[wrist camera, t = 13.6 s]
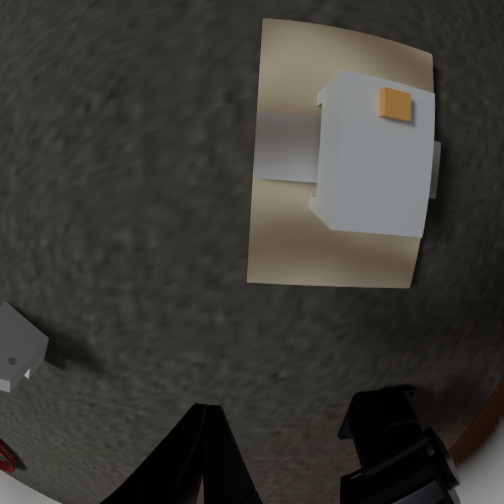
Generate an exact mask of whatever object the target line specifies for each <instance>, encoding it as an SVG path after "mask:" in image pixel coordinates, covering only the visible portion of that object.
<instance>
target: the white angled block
mask: <svg viewBox="0 0 504 504" xmlns="http://www.w3.org/2000/svg"><path fill="white" fill-rule="evenodd" d="M48 341H49V338H48V337H47V336H46V335H45V334H43V333H42V332H41V331H40V330H38V329H37V328H36V327H35V326H34V325H32V324H31V323H30V322H29V321H28V320H27V319H25V318H24V317H23V316H22V315H21V314H20V313H19V312H17V311H16V310H15V309H14V308H13V307H12V306H11V305H10V304H9V303H8V302H6V303H5V304H3V305H2V306H1V307H0V390H3V391H7V392H11V391H12V389H13V388H14V387H15V386H16V384H17V383H18V382H19V381H20V380H21V378H22V377H23V376H26V377H27V378H28V379H29V378H30V376H31V375H32V374H33V373H34V372H35V370H36V369H37V368H38V367H39V366H40V364H41V363H42V362H43V361H44V357H45V353H46V349H47V345H48Z"/></svg>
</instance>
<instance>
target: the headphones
mask: <svg viewBox="0 0 504 504" xmlns="http://www.w3.org/2000/svg"><path fill="white" fill-rule="evenodd" d="M0 453H1V454H2V455H3V456H4V457H5V459H6V460H7V461H8V462H9V463H8V462H5V461H2V460H0V470H3V471H5V472H14V470H15V468H16V465H17V460H16V458H15V456H14V455H13V453H12V452H11V451H10V450H9V449H8V448H7V446H6V445H5V444H4V443H3V442H2V441H1V440H0Z"/></svg>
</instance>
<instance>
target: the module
mask: <svg viewBox="0 0 504 504" xmlns="http://www.w3.org/2000/svg"><path fill="white" fill-rule="evenodd" d="M317 106H318V107H322V116H321V134H320V149H319V163H318V176H317V188H316V195H311V201H310V210H311V211H312V212H313V213H314V214H316V215H317V216H318V217H319V218H320V219H321V220H322V221H323V222H324V223H325V224H326V225H327V226H328V227H329V228H330V229H331V230H337V231H351V232H363V233H375V234H387V235H399V236H410V237H420V238H422V236H423V231H424V225H425V219H426V212H427V206H428V198H429V190H430V182H431V172H432V161H433V147H434V125H435V94H434V93H431V92H428V91H425V90H422V89H418V88H415V87H412V86H408V85H405V84H401V83H398V82H394V81H390V80H386V79H382V78H378V77H374V76H369V75H365V74H360V73H355V72H350V71H345V70H342V71H341V72H340V73H339V74H338V75H337V76H335V77H334V78H333V79H332V80H331V81H330V82H329V83H328V84H327V85H326V86H325V87H324V88H323V89H321V90H320V91H319V92H318V96H317Z"/></svg>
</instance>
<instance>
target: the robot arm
mask: <svg viewBox="0 0 504 504" xmlns="http://www.w3.org/2000/svg"><path fill="white" fill-rule="evenodd" d="M415 393H416V390H415V389H414V388H413V387H410V388H403V389H395V390H386V391H377V392H367V393H358V394H355V395H354V396H353V398H352V401H351V403H350V406H349V409H348V411H347V414H346V416H345V419H344V421H343V424H342V426H341V429H340V431H339V433H338V437H339V439H340V440H344V439H353V441H354V444H355V448H356V451H357V454H358V458H359V461H360V465H361V469H359V470H357V471H355V472H353V473H351V474H349V475H344V476H342V477H341V485H340V504H460V500H459V497H458V495H457V493H456V491H455V489H454V488H455V487H456V486H458V485H459V484H460V481H459V478H458V475H457V472H456V469H455V466H454V463H453V460H452V458H451V456H450V454H449V452H448V450H447V449H446V447H445V445H444V443H443V442H442V440H441V439H440V438H439V436H438V435H437V434H436V433H435V431H434V430H433V429H432V428H431V426H429V427H428V428H426V429H425V431H424V432H422V430H421V428H420V426H419V424H418V422H417V421H418V418H417V416H416V414H415V412H414V411H413V409H412V407H411V405H410V403H411V401H412V399H413V397H414V395H415ZM358 398H359V399H358ZM133 474H134V475H133ZM133 474H131V475H130V476H129V477H128V478H127V479H126V481H125V482H124V483H123V484H122V485H121V486H119V487H118V488H117V489H116V490H115V491H114V492H113V493H112V494H111V495H109V496H108V497H107V498H106V499H105V500H103V501H102V502H101V503H99V504H196V501H197V497H198V493H199V489H200V485H201V481H202V477H203V485H204V504H262V502H261V500H260V497H259V495H258V493H257V491H256V490H255V487H254V484H253V482H252V480H251V478H250V475H249V473H248V471H247V468H246V466H245V463H244V461H243V459H242V456H241V454H240V451H239V449H238V446H237V444H236V441H235V439H234V436H233V434H232V431H231V429H230V426H229V423H228V421H227V418H226V415H225V413H224V410H223V408H222V406H219V405H209V406H208V405H206V404H198V403H196V404H194V405H193V406H192V407H191V408H190V409H189V411H188V412H187V413H186V414H185V415H184V416H183V418H182V419H181V420H180V421H179V422H178V423H177V424H176V426H175V427H174V428H173V429H172V430H171V431H170V432H169V434H168V435H167V436H166V437H165V438H164V439H163V440H162V441H161V443H160V444H159V445H158V446H157V447H156V448H155V449H154V450H153V452H152V453H151V454H150V455H149V456H148V457H147V458H146V459H145V460H144V461H143V462H142V464H141V465H140V466H139V467H138V468H137V469H136V470H135V471H134V472H133Z"/></svg>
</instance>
